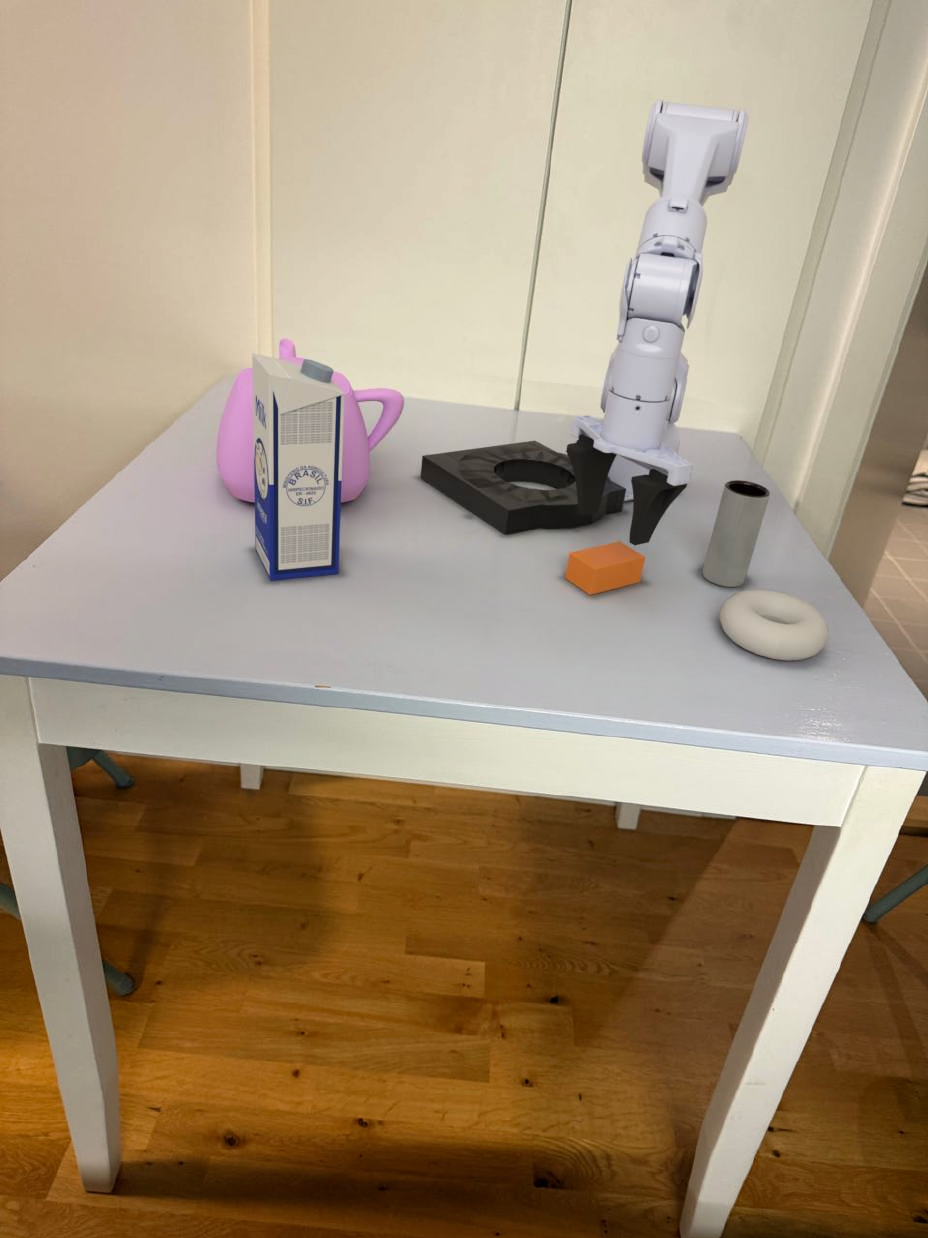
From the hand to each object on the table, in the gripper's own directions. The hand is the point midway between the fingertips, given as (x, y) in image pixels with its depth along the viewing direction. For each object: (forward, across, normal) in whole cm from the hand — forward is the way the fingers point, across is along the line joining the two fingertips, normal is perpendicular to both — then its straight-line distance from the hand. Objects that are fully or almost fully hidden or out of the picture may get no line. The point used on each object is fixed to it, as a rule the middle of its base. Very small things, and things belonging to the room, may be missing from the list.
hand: (612, 527), depth 90 cm
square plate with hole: (+6, -21, +7) cm, 23 cm away
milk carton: (+6, -16, -27) cm, 32 cm away
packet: (+6, 0, 0) cm, 6 cm away
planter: (+6, +5, +13) cm, 15 cm away
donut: (+6, +16, +7) cm, 19 cm away
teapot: (+6, -34, -19) cm, 39 cm away
